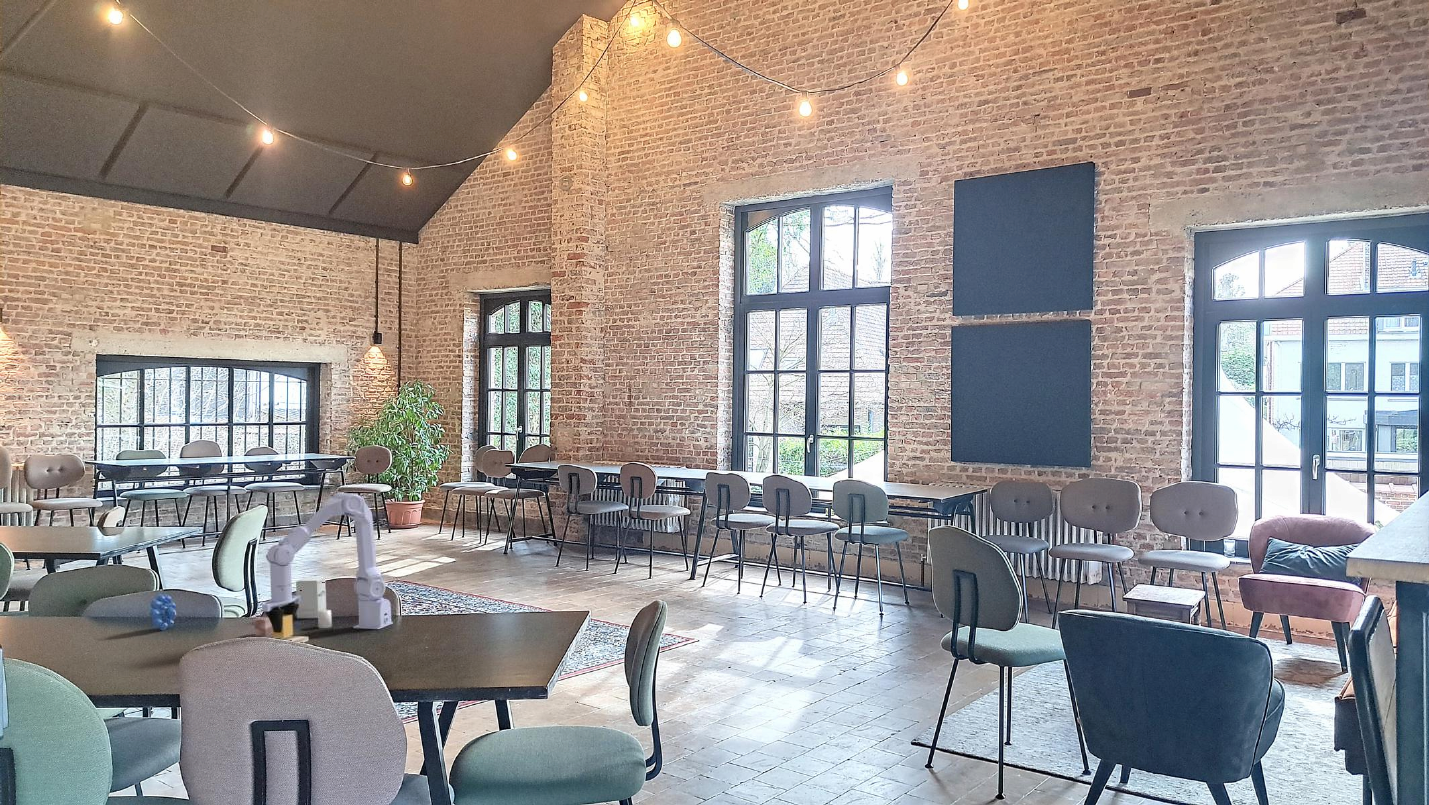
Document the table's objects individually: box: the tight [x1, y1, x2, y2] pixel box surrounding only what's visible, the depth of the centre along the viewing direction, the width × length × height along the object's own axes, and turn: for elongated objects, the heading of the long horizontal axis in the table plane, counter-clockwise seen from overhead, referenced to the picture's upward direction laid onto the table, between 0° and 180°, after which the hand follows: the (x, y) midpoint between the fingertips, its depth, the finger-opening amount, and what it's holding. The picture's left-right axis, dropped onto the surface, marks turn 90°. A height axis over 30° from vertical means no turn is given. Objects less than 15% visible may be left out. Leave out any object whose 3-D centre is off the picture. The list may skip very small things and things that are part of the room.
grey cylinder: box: [317, 609, 333, 629], centre depth 326 cm, size 4×4×5 cm
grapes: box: [148, 593, 178, 631], centre depth 327 cm, size 12×7×12 cm, turn 173°
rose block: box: [253, 616, 272, 637], centre depth 318 cm, size 4×4×5 cm
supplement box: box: [295, 576, 327, 619], centre depth 342 cm, size 7×7×13 cm
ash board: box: [281, 635, 309, 644], centre depth 304 cm, size 10×10×1 cm
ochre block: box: [271, 614, 294, 638], centre depth 304 cm, size 4×4×6 cm
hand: (282, 630), depth 304 cm, fingers closed on ochre block, 4 cm apart
